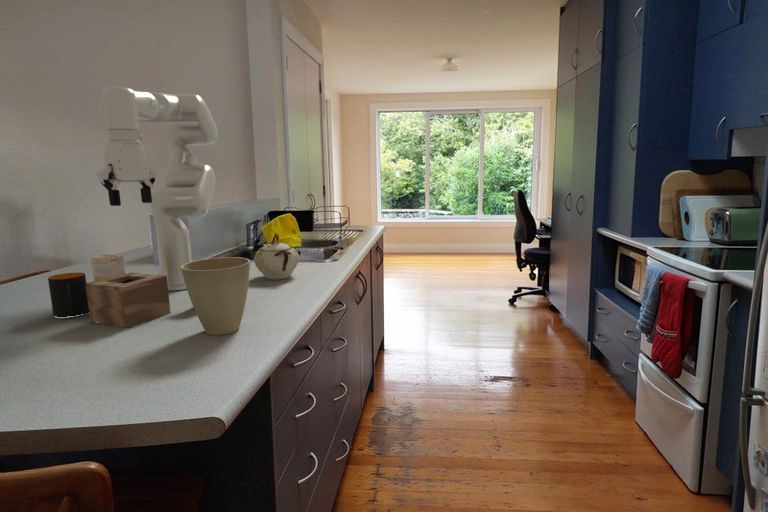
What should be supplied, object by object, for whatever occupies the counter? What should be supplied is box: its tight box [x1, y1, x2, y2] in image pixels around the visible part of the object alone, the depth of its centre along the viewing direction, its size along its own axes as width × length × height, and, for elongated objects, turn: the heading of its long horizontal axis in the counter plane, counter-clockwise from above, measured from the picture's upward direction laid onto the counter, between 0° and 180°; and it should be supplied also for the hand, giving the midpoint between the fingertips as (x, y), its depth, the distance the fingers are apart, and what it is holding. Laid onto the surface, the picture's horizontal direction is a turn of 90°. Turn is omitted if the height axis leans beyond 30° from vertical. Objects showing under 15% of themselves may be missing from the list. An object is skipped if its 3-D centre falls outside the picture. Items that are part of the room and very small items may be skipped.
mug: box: [47, 272, 89, 317], centre depth 130 cm, size 8×12×10 cm
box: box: [85, 272, 171, 329], centre depth 127 cm, size 13×13×10 cm
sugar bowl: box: [253, 233, 300, 281], centre depth 170 cm, size 20×15×15 cm
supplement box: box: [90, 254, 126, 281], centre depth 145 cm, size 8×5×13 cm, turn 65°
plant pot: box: [181, 256, 251, 336], centre depth 114 cm, size 15×15×16 cm
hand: (131, 204), depth 132 cm, fingers open, 9 cm apart
